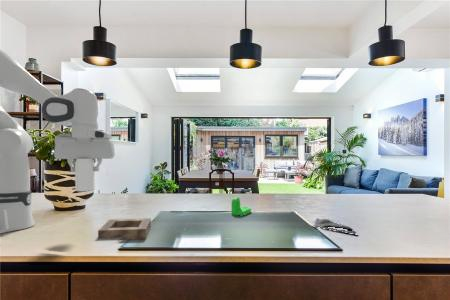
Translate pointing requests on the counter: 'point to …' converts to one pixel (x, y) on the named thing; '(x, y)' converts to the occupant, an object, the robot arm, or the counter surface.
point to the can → (84, 174)
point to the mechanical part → (239, 208)
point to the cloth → (331, 225)
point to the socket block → (125, 229)
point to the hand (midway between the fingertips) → (85, 171)
